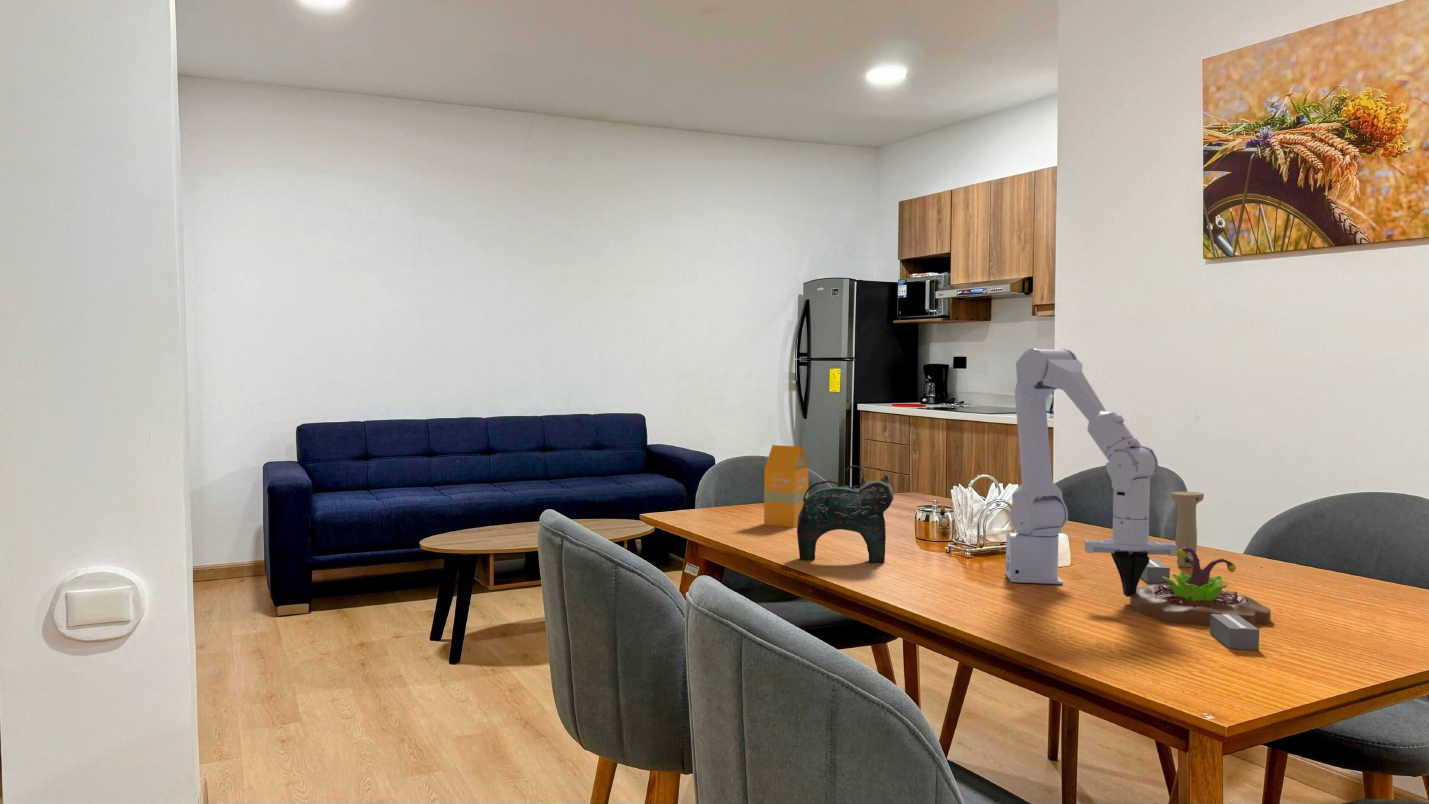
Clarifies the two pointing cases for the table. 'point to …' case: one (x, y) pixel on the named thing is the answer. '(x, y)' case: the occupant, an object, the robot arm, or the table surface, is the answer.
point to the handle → (1186, 522)
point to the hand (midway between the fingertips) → (1129, 595)
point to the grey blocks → (1213, 615)
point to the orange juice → (785, 485)
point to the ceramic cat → (846, 515)
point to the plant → (1196, 597)
